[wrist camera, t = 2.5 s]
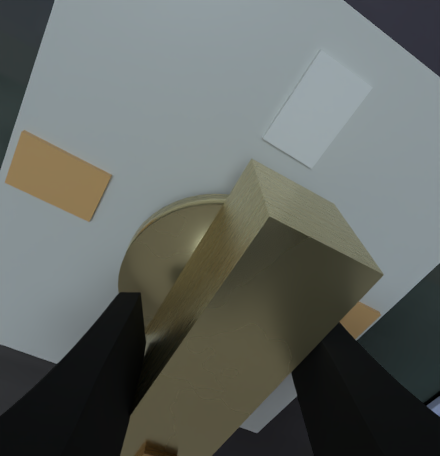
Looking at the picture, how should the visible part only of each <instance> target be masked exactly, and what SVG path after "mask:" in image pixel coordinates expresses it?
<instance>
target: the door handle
mask: <svg viewBox="0 0 440 456" xmlns="http://www.w3.org/2000/svg"><path fill="white" fill-rule="evenodd" d="M383 275H384V274H383V272H382V271H381V270H380V268H379V267H378V265H377V264H376V262H375V261H374V260H373V258H372V257H371V255H370V254H369V252H368V251H367V250H366V248H365V247H364V245H363V244H362V243H361V241H360V240H359V238H358V237H357V235H356V234H355V233H354V231H353V230H352V228H351V227H350V226H349V224H348V223H347V221H346V220H345V218H344V217H343V216H342V214H341V213H340V211H339V210H338V208H337V207H336V206H335V204H334V203H332V202H330V201H328V200H326V199H325V198H323V197H321V196H319V195H317V194H315V193H314V192H312V191H310V190H308V189H306V188H305V187H303V186H301V185H299V184H297V183H295V182H294V181H292V180H290V179H288V178H286V177H285V176H283V175H281V174H279V173H277V172H275V171H274V170H272V169H270V168H268V167H266V166H264V165H263V164H261V163H259V162H257V161H255V160H254V159H252V158H251V160H250V162H249V163H248V165H247V166H246V168H245V170H244V171H243V173H242V175H241V176H240V178H239V179H238V181H237V183H236V184H235V186H234V188H233V189H232V191H231V192H230V194H204V195H197V196H192V197H187V198H184V199H181V200H178V201H175V202H173V203H171V204H169V205H167V206H165V207H163V208H161V209H160V210H158V211H157V212H155V213H154V214H152V215H151V216H150V217H149V218H148V219H147V220H146V221H145V222H144V223H143V224H142V225H141V226H140V227H139V228H138V230H137V231H136V233H135V234H134V236H133V237H132V239H131V241H130V243H129V246H128V248H127V251H126V253H125V256H124V258H123V261H122V264H121V267H120V271H119V276H118V292H119V293H120V292H141V300H142V309H143V318H144V327H145V336H146V347H145V354H144V360H143V365H142V370H141V374H140V378H139V382H138V385H137V389H136V393H135V397H134V401H133V404H132V408H131V412H130V416H129V424H128V428H127V432H126V435H125V439H124V443H123V447H122V450H121V454H120V456H212V455H213V454H214V453H215V452H216V451H217V450H218V449H219V448H220V447H221V446H222V444H223V443H224V442H225V441H226V440H227V439H228V438H229V437H230V436H231V435H232V434H233V433H234V432H235V431H236V430H237V429H238V428H239V427H240V426H241V425H242V423H243V422H244V421H245V420H246V419H247V418H248V417H249V416H250V415H251V414H252V413H253V412H254V411H255V410H256V409H257V408H258V407H259V406H260V405H261V404H262V402H263V401H264V400H265V399H266V398H267V397H268V396H269V395H270V394H271V393H272V392H273V391H274V390H275V389H276V388H277V387H278V386H279V385H280V384H281V383H282V381H283V380H284V379H285V378H286V377H287V376H288V375H289V374H290V373H291V372H292V371H293V370H294V369H295V368H296V367H297V366H298V365H299V364H300V363H301V362H302V360H303V359H304V358H305V357H306V356H307V355H308V354H309V353H310V352H311V351H312V350H313V349H314V348H315V347H316V346H317V345H318V344H319V343H320V342H321V340H322V339H323V338H324V337H325V336H326V335H327V334H328V333H329V332H330V331H331V330H332V329H333V328H334V327H335V326H336V325H337V324H338V323H339V322H340V321H341V320H342V318H343V317H344V316H345V315H346V314H347V313H348V312H349V311H350V310H351V309H352V308H353V307H354V306H355V305H356V304H357V303H358V302H359V301H360V300H361V298H362V297H363V296H364V295H365V294H366V293H367V292H368V291H369V290H370V289H371V288H372V287H373V286H374V285H375V284H376V283H377V282H378V281H379V280H380V279H381V277H382V276H383Z"/></svg>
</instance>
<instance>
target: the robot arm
mask: <svg viewBox="0 0 440 456" xmlns="http://www.w3.org/2000/svg"><path fill="white" fill-rule="evenodd" d="M145 347H146V336H145V327H144V318H143V309H142V300H141V292H120V293H119V294H118V295H116V297H115V298H114V299H113V301H112V302H111V303H110V304H109V306H108V307H107V308H106V309H105V311H104V312H103V313H102V314H101V316H100V317H99V318H98V319H97V320H96V322H95V323H94V324H93V325H92V326H91V327H90V329H89V330H88V331H87V332H86V333H85V334H84V335H83V337H82V338H81V339H80V340H79V341H78V342H77V343H76V345H75V346H74V347H73V348H72V349H71V350H70V351H69V352H68V353H67V354H66V355H65V356H64V357H63V358H62V359H61V360H60V361H59V362H58V363H57V365H56V366H55V367H54V368H53V369H52V370H51V371H50V372H49V373H48V374H47V375H46V376H45V377H44V378H43V379H41V380H40V381H39V382H38V383H37V384H36V385H35V386H34V387H33V388H32V389H31V390H30V391H29V392H28V393H26V394H25V395H24V396H23V397H22V398H21V399H20V400H19V401H17V402H16V403H15V404H14V405H13V406H12V407H11V408H9V409H8V410H7V411H6V412H5V413H3V414H2V415H1V416H0V456H120V454H121V450H122V447H123V443H124V439H125V435H126V432H127V428H128V424H129V416H130V412H131V408H132V404H133V401H134V397H135V393H136V389H137V385H138V382H139V378H140V374H141V370H142V365H143V360H144V354H145ZM291 374H292V378H293V382H294V386H295V389H296V393H297V397H298V400H299V404H300V407H301V411H302V415H303V418H304V422H305V425H306V429H307V432H308V436H309V439H310V443H311V446H312V450H313V454H314V456H440V396H439V397H437V398H436V399H435V400H433V401H432V402H431V403H429V404H428V405H427V406H426V405H424V404H423V403H422V402H421V401H420V400H419V399H417V398H416V397H415V396H414V395H413V394H412V393H410V392H409V391H408V390H407V389H406V388H404V387H403V386H402V385H401V384H400V383H399V382H398V381H397V380H395V379H394V378H393V377H392V376H391V375H390V374H389V373H388V372H387V371H386V370H385V369H384V368H383V367H382V366H381V365H380V364H379V363H378V362H377V361H376V360H375V359H374V358H373V357H372V356H371V355H370V354H369V353H368V352H367V351H366V350H365V349H364V348H363V347H362V346H361V345H360V344H359V343H358V342H357V341H356V340H355V339H354V338H353V336H352V335H351V334H350V333H349V332H348V331H347V330H346V329H345V328H344V327H343V325H342V324H341V323H340V322H339V323H338V324H337V325H336V326H335V327H334V328H333V329H332V330H331V331H330V332H329V333H328V334H327V335H326V336H325V337H324V338H323V339H322V340H321V342H320V343H319V344H318V345H317V346H316V347H315V348H314V349H313V350H312V351H311V352H310V353H309V354H308V355H307V356H306V357H305V358H304V359H303V360H302V362H301V363H300V364H299V365H298V366H297V367H296V368H295V369H294V370H293V371H292V372H291Z"/></svg>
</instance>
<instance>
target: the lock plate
mask: <svg viewBox="0 0 440 456" xmlns="http://www.w3.org/2000/svg"><path fill="white" fill-rule="evenodd" d="M251 158H252V159H254V160H255V161H257V162H259V163H261V164H263V165H264V166H266V167H268V168H270V169H272V170H274V171H275V172H277V173H279V174H281V175H283V176H285V177H286V178H288V179H290V180H292V181H294V182H295V183H297V184H299V185H301V186H303V187H305V188H306V189H308V190H310V191H312V192H314V193H315V194H317V195H319V196H321V197H323V198H325V199H326V200H328V201H330V202H332V203H334V204H335V206H336V207H337V208H338V210H339V211H340V213H341V214H342V216H343V217H344V218H345V220H346V221H347V223H348V224H349V226H350V227H351V228H352V230H353V231H354V233H355V234H356V235H357V237H358V238H359V240H360V241H361V243H362V244H363V245H364V247H365V248H366V250H367V251H368V252H369V254H370V255H371V257H372V258H373V260H374V261H375V262H376V264H377V265H378V267H379V268H380V270H381V271H382V272H383V274H384V275H383V276H382V277H381V279H380V280H379V281H378V282H377V283H376V284H375V285H374V286H373V287H372V288H371V289H370V290H369V291H368V292H367V293H366V294H365V295H364V296H363V297H362V298H361V300H360V301H359V302H358V303H357V304H356V305H355V306H354V307H353V308H352V309H351V310H350V311H349V312H348V313H347V314H346V315H345V316H344V317H343V318H342V320H341V321H340V323H341V324H342V325H343V327H344V328H345V329H346V330H347V331H348V332H349V333H350V334H351V335H352V336H353V338H354V339H355V340H358V339H359V338H360V337H361V336H362V335H363V334H364V333H365V332H366V331H367V330H368V329H369V328H370V327H371V326H373V325H374V324H375V323H376V322H377V321H378V320H379V319H380V318H381V317H382V316H383V315H384V314H385V313H386V312H388V311H389V310H390V309H391V308H392V307H393V306H394V305H395V304H396V303H397V302H398V301H399V300H400V299H401V298H403V297H404V296H405V295H406V294H407V293H408V292H409V291H410V290H411V289H412V288H413V287H414V286H415V285H416V284H418V283H419V282H420V281H421V280H422V279H423V278H424V277H425V276H426V275H427V274H428V273H429V272H430V271H431V270H433V269H434V268H435V267H436V266H437V265H438V264H439V263H440V77H439V76H437V75H436V74H435V73H434V72H432V71H431V70H430V69H429V68H427V67H426V66H425V65H424V64H422V63H421V62H420V61H419V60H417V59H416V58H415V57H414V56H412V55H411V54H410V53H409V52H407V51H406V50H405V49H404V48H402V47H401V46H400V45H399V44H397V43H396V42H395V41H394V40H392V39H391V38H390V37H389V36H387V35H386V34H385V33H384V32H382V31H381V30H380V29H379V28H377V27H376V26H375V25H374V24H372V23H371V22H370V21H368V20H367V19H366V18H365V17H363V16H362V15H361V14H360V13H358V12H357V11H356V10H355V9H353V8H352V7H351V6H350V5H348V4H347V3H346V2H345V1H343V0H55V2H54V5H53V8H52V11H51V14H50V18H49V21H48V24H47V27H46V30H45V33H44V36H43V39H42V42H41V46H40V49H39V52H38V55H37V58H36V61H35V64H34V67H33V70H32V74H31V77H30V80H29V83H28V86H27V89H26V92H25V95H24V99H23V102H22V105H21V108H20V111H19V114H18V117H17V120H16V123H15V127H14V130H13V133H12V136H11V139H10V142H9V145H8V148H7V152H6V155H5V158H4V161H3V164H2V167H1V170H0V344H1V345H4V346H7V347H10V348H13V349H16V350H19V351H22V352H24V353H27V354H30V355H33V356H36V357H39V358H42V359H45V360H48V361H50V362H53V363H56V364H57V363H58V362H59V361H60V360H61V359H62V358H63V357H64V356H65V355H66V354H67V353H68V352H69V351H70V350H71V349H72V348H73V347H74V346H75V345H76V343H77V342H78V341H79V340H80V339H81V338H82V337H83V335H84V334H85V333H86V332H87V331H88V330H89V329H90V327H91V326H92V325H93V324H94V323H95V322H96V320H97V319H98V318H99V317H100V316H101V314H102V313H103V312H104V311H105V309H106V308H107V307H108V306H109V304H110V303H111V302H112V301H113V299H114V298H115V297H116V295H118V294H119V292H118V276H119V271H120V267H121V264H122V261H123V258H124V256H125V253H126V251H127V248H128V246H129V243H130V241H131V239H132V237H133V236H134V234H135V233H136V231H137V230H138V228H139V227H140V226H141V225H142V224H143V223H144V222H145V221H146V220H147V219H148V218H149V217H150V216H151V215H152V214H154V213H155V212H157V211H158V210H160V209H161V208H163V207H165V206H167V205H169V204H171V203H173V202H175V201H178V200H181V199H184V198H187V197H192V196H197V195H204V194H230V192H231V191H232V189H233V188H234V186H235V184H236V183H237V181H238V179H239V178H240V176H241V175H242V173H243V171H244V170H245V168H246V166H247V165H248V163H249V162H250V160H251ZM295 397H297V393H296V389H295V386H294V382H293V378H292V374H291V373H290V374H289V375H288V376H287V377H286V378H285V379H284V380H283V381H282V383H281V384H280V385H279V386H278V387H277V388H276V389H275V390H274V391H273V392H272V393H271V394H270V395H269V396H268V397H267V398H266V399H265V400H264V401H263V402H262V404H261V405H260V406H259V407H258V408H257V409H256V410H255V411H254V412H253V413H252V414H251V415H250V416H249V417H248V418H247V419H246V420H245V421H244V422H243V423H242V425H241V426H240V427H241V428H244V429H246V430H249V431H252V432H255V433H258V432H259V431H260V430H261V429H262V428H263V427H264V426H265V425H267V424H268V423H269V422H270V421H271V420H272V419H273V418H274V417H275V416H276V415H277V414H278V413H279V412H280V411H282V410H283V409H284V408H285V407H286V406H287V405H288V404H289V403H290V402H291V401H292V400H293V399H294V398H295Z"/></svg>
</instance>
